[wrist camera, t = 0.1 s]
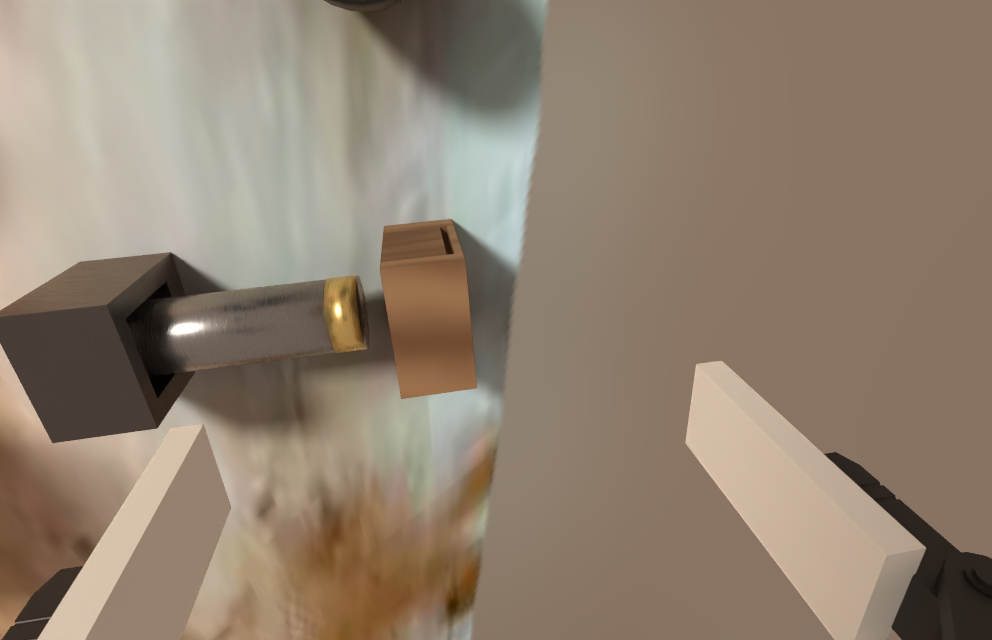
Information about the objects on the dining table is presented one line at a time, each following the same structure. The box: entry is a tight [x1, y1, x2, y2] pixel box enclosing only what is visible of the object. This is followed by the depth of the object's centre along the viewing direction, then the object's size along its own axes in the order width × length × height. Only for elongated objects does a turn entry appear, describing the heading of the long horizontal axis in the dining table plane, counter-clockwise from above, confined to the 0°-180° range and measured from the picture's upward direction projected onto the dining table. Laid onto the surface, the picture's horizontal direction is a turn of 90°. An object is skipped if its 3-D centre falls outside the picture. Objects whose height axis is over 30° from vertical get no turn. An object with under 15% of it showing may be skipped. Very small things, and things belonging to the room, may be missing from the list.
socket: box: [380, 219, 477, 399], centre depth 38 cm, size 9×5×10 cm, turn 4°
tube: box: [126, 275, 369, 377], centre depth 36 cm, size 20×5×5 cm, turn 94°
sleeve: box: [0, 253, 195, 443], centre depth 35 cm, size 8×6×9 cm
